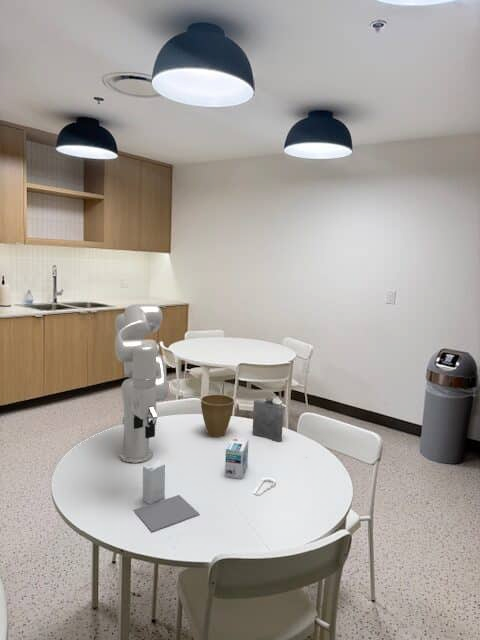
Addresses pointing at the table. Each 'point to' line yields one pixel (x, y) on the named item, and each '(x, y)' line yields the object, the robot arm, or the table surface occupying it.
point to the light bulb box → (236, 458)
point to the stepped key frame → (262, 483)
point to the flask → (268, 419)
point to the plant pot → (217, 413)
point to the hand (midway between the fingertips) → (144, 432)
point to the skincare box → (153, 482)
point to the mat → (166, 513)
